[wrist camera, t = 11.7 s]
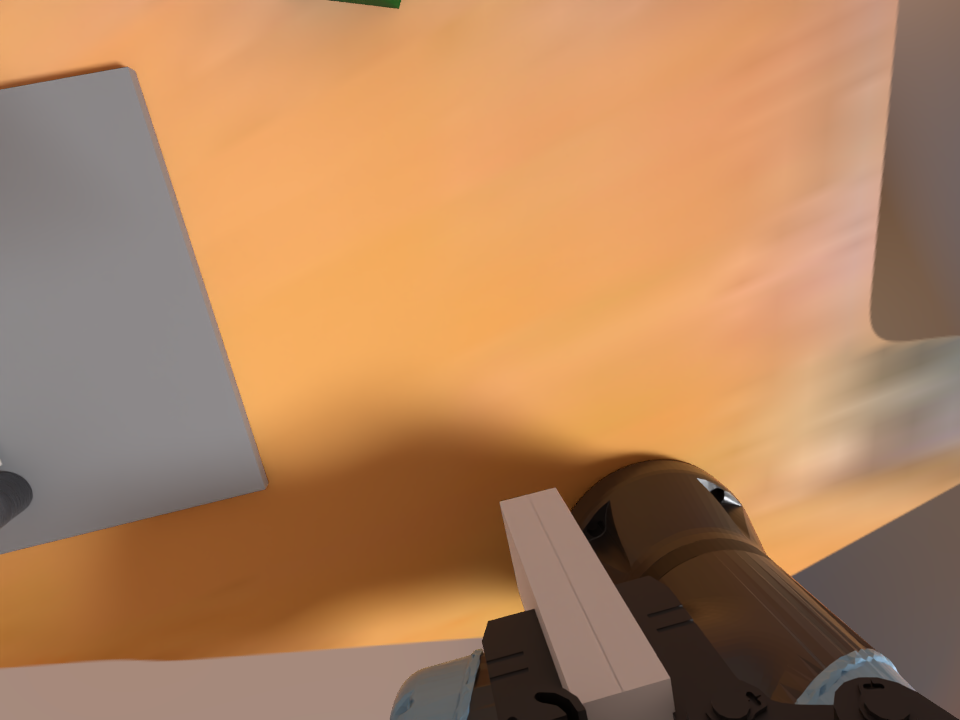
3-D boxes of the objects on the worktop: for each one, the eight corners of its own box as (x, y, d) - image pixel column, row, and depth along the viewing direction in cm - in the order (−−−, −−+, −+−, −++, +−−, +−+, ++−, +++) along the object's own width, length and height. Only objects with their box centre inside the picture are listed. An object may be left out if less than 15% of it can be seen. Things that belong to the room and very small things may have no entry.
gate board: (268, 483, 41) (265, 489, 40) (-45, 559, 39) (-56, 567, 38) (135, 71, 34) (127, 66, 33) (-251, 140, 33) (-271, 138, 32)
